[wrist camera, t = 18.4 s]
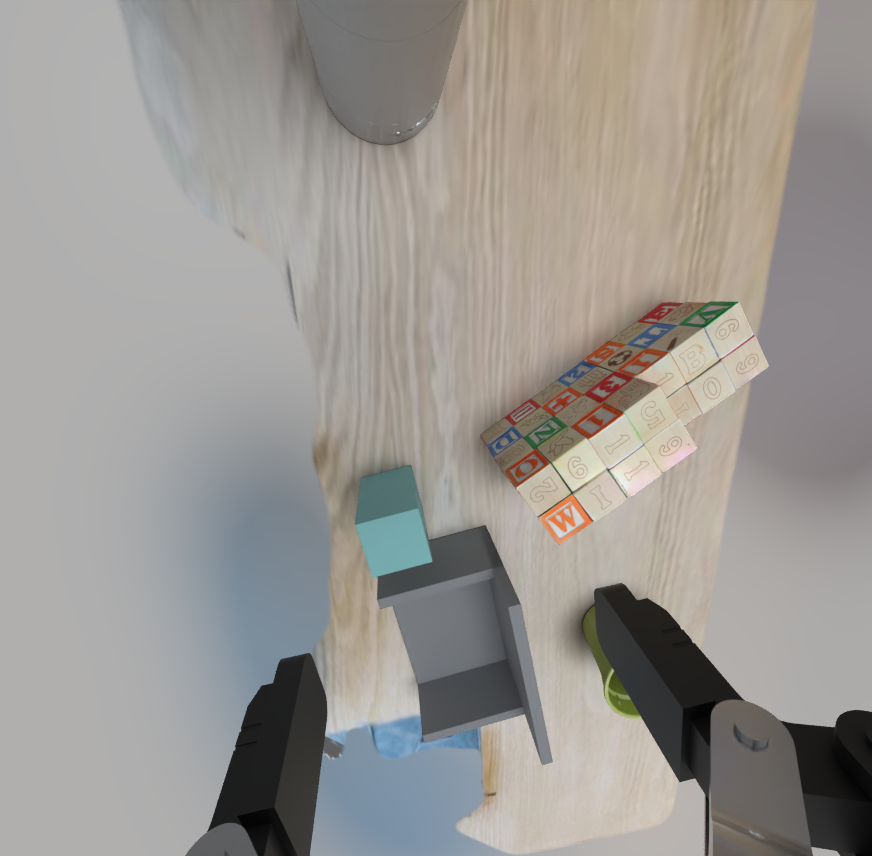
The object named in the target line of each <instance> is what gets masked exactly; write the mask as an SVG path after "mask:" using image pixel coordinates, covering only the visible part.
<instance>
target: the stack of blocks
mask: <svg viewBox="0 0 872 856" xmlns="http://www.w3.org/2000/svg"><path fill="white" fill-rule="evenodd" d="M768 367H769V365H768V363H767V361H766V359H765V356H764V354H763V352H762V350H761V348H760V345H759V343H758V340H757V338H756V336H754V335H753V332H752V329H751V327H750V325H749V323H748V320H747V318H746V316H745V314H744V312H743V310H742V307H741V305H740V303H739V302H709V303H693V302H685V303H662V304H661V305H659V306H658V307H657V308H655V309H654V310H653V311H652V312H650V313H649V314H647V315H646V316H645V317H643V318H642V319H641V320H639V321H638V322H637V323H634V324H632V325H631V326H630V327H628V328H627V329H626V330H624V331H623V332H621V333H620V334H619V335H617V336H616V337H615V338H613V339H612V340H611V341H610V342H608V343H606V344H605V345H603V346H602V347H601V348H599V349H598V350H596V351H595V352H594V353H592V354H591V355H590V356H588V357H587V358H585V359H584V361H583V362H581V363H580V364H578V365H577V366H576V367H574V368H573V369H572V370H570V371H569V372H567V373H566V374H565V375H563V376H562V377H561V378H559V379H558V380H557V381H556V382H554V383H553V384H551V385H550V386H549V387H547V388H546V389H544V390H543V391H542V392H540V393H539V394H538V395H536V396H535V397H534V398H532V399H530V400H528V401H527V402H525V403H524V404H523V405H521V406H520V407H519V408H517V409H516V410H514V411H513V412H512V413H510V414H509V415H507V416H506V417H505V418H503V419H501V420H500V421H499V422H497V423H496V424H494V425H493V426H492V427H490V428H489V429H488V430H486V431H485V432H483V433H482V434H481V435H480V436H481V438H482V439H483V441H484V442H485V444H486V445H487V447H488V448H489V450H490V452H491V453H492V455H493V456H494V458H495V461H496V462H497V464H498V465H499V467H500V469H501V470H502V471H503V473H504V474H505V475H506V477H507V478H508V479H509V480H510V482H511V483H512V484H513V485H514V487H515V488H516V490H517V491H518V492H519V494H520V495H521V496H522V497H523V499H524V500H525V501H526V503H527V504H528V505H529V507H530V508H531V509H532V511H533V512H534V513H535V515H536V516H537V517H538V518H539V520H540V521H541V522H542V524H543V525H544V526H545V528H546V529H547V530H548V532H549V533H550V534H551V536H552V537H553V538H554V540H555V541H556V542H557V543H558V544H559V545H560V544H562V543H563V542H565V541H566V540H568V539H569V538H570V537H572V536H573V535H575V534H576V533H578V532H579V531H581V530H582V529H583V528H585V527H586V526H588V525H589V524H591V522H592V521H594V522H596V521H598V520H599V519H601V518H602V517H604V516H605V515H606V514H608V513H609V512H611V511H612V510H613V509H615V508H616V507H618V506H619V505H620V504H622V503H623V502H624V501H626V500H627V497H632V496H633V495H634V494H636V493H637V492H639V491H640V490H641V489H643V488H644V487H646V486H647V485H648V484H650V483H651V482H652V481H654V480H655V479H657V478H658V477H659V476H660V475H661V474H662V473H663V472H665V471H667V470H668V469H670V468H671V467H672V466H674V465H675V464H677V463H678V462H679V461H681V460H682V459H684V458H685V457H686V456H688V455H689V454H690V453H692V452H693V451H695V450H696V449H697V447H696V445H695V443H694V442H693V440H692V438H691V437H690V435H689V433H688V432H687V430H686V428H685V427H684V426H686V425H687V424H688V423H690V422H691V421H693V420H694V419H695V418H697V417H698V416H700V415H701V414H704V413H705V412H707V411H708V410H710V409H711V408H713V407H714V406H715V405H717V404H718V403H720V402H721V401H723V400H724V399H725V398H727V397H728V396H730V395H731V394H732V393H734V392H735V391H736V389H738V388H739V387H741V386H742V385H744V384H745V383H747V382H748V381H749V380H751V379H752V378H754V377H755V376H757V375H758V374H759V373H761V372H762V371H764V370H765V369H767V368H768Z"/></svg>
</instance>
